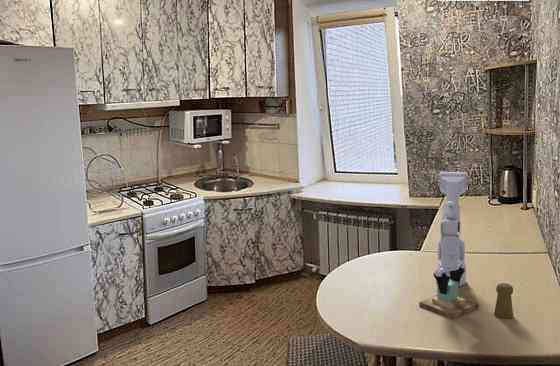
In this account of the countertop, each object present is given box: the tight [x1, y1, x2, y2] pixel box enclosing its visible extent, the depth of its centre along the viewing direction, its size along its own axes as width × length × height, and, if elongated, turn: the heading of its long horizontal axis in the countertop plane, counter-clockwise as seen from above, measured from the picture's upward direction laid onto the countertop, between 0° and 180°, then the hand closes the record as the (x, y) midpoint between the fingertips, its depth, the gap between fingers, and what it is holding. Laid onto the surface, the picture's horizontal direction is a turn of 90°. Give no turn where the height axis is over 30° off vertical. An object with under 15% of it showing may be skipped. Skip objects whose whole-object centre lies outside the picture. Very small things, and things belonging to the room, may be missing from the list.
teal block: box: [436, 280, 459, 302], centre depth 189 cm, size 5×5×6 cm
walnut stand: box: [419, 294, 479, 320], centre depth 189 cm, size 14×14×3 cm
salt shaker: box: [493, 282, 514, 320], centre depth 180 cm, size 6×6×11 cm
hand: (448, 290), depth 188 cm, fingers open, 7 cm apart
